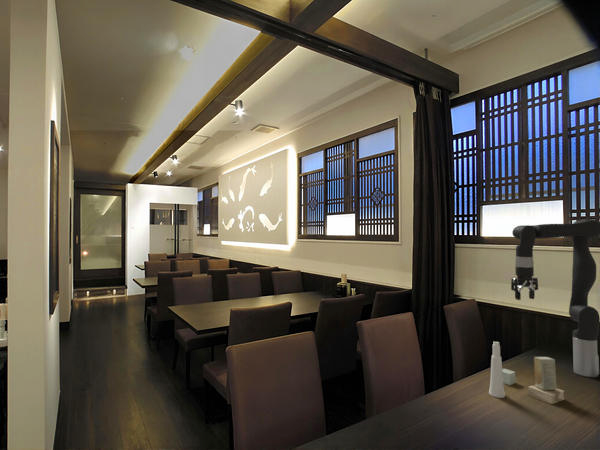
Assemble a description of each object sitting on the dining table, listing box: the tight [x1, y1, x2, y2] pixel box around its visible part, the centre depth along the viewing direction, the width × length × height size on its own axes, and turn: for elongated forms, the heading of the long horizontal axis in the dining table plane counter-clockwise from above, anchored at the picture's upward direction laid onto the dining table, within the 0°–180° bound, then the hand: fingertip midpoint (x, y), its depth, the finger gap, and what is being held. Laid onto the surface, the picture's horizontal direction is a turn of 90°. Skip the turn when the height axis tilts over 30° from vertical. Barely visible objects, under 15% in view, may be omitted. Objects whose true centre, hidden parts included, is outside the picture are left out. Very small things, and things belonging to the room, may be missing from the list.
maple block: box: [527, 384, 565, 405], centre depth 146 cm, size 9×9×4 cm
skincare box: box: [533, 356, 557, 390], centre depth 147 cm, size 6×4×12 cm
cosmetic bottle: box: [488, 341, 506, 399], centre depth 149 cm, size 6×6×22 cm
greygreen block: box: [502, 368, 517, 386], centre depth 161 cm, size 5×5×5 cm
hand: (524, 299), depth 172 cm, fingers open, 8 cm apart
